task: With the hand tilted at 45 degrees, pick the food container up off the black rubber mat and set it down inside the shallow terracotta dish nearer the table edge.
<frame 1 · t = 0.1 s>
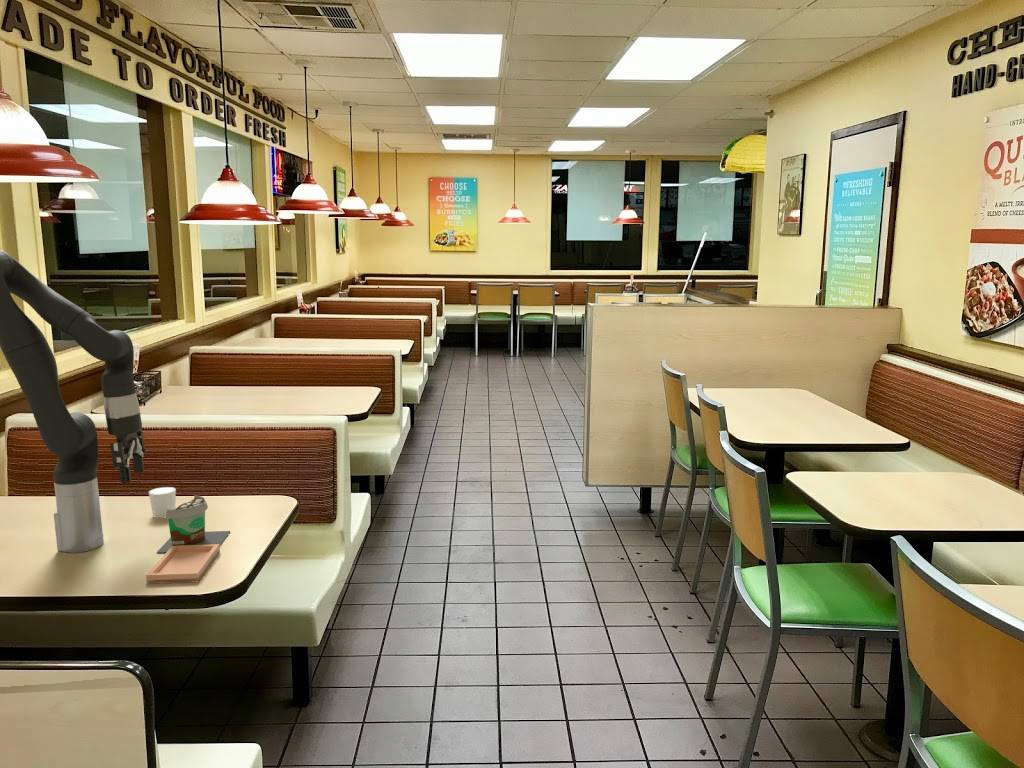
hand: (133, 477, 189), 17 cm above the table, tool pointing down, fingers open, 8 cm apart
dish: (185, 567, 178), on the table
food container: (194, 541, 193), resting on mat
mat: (195, 542, 193), on the table
white cup: (164, 515, 214), on the table
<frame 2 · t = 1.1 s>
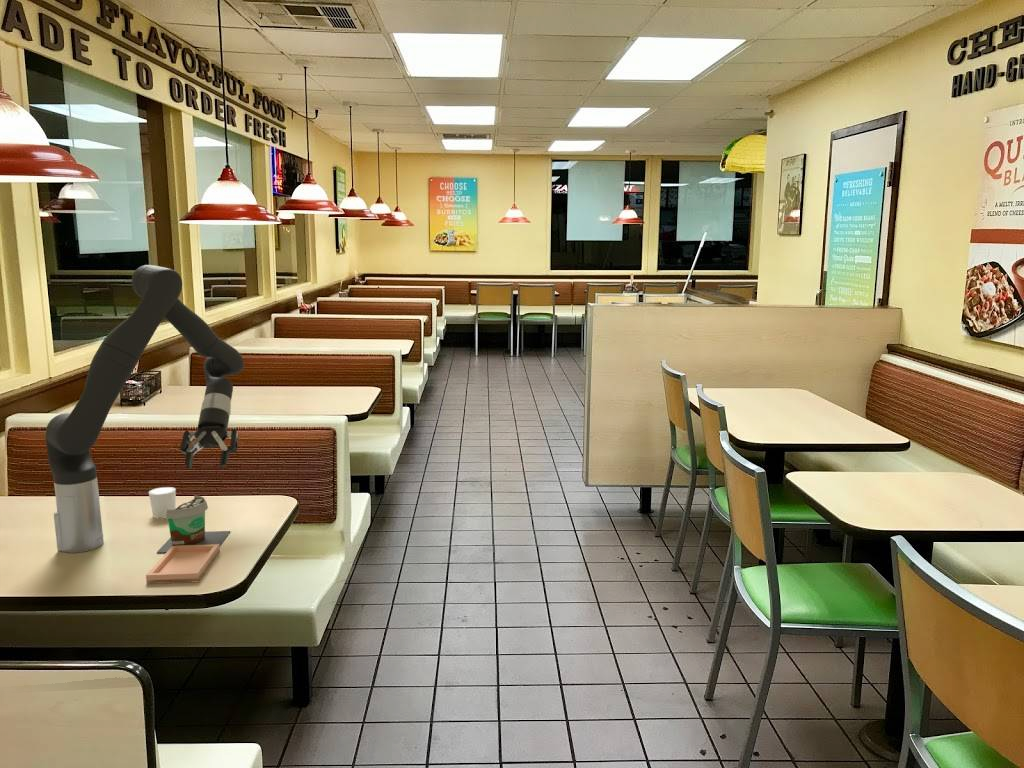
hand: (205, 466, 201), 16 cm above the table, tool tilted 45°, fingers open, 8 cm apart
nothing on the table moved.
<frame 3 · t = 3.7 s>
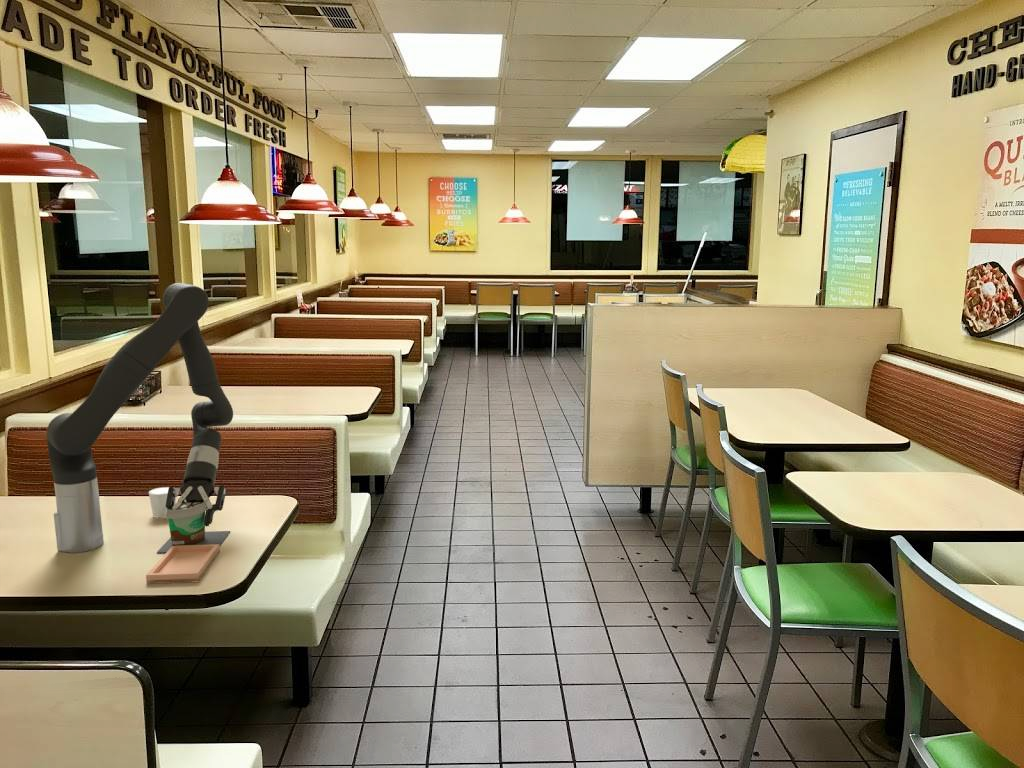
hand: (190, 525, 191), 5 cm above the table, tool tilted 45°, fingers closed on food container, 7 cm apart
food container: (194, 541, 193), resting on mat, touching gripper
everything else where it was.
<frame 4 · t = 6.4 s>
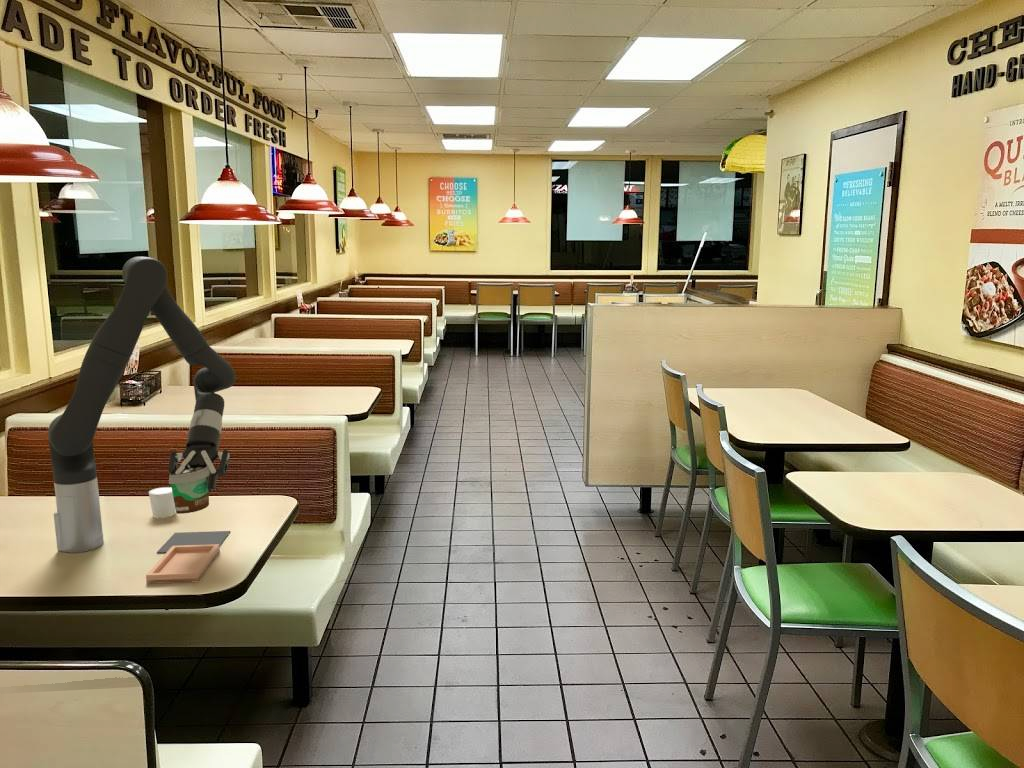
hand: (194, 490, 186), 15 cm above the table, tool tilted 45°, fingers closed on food container, 7 cm apart
food container: (199, 507, 188), point 10 cm above the table, touching gripper
everything else where it was.
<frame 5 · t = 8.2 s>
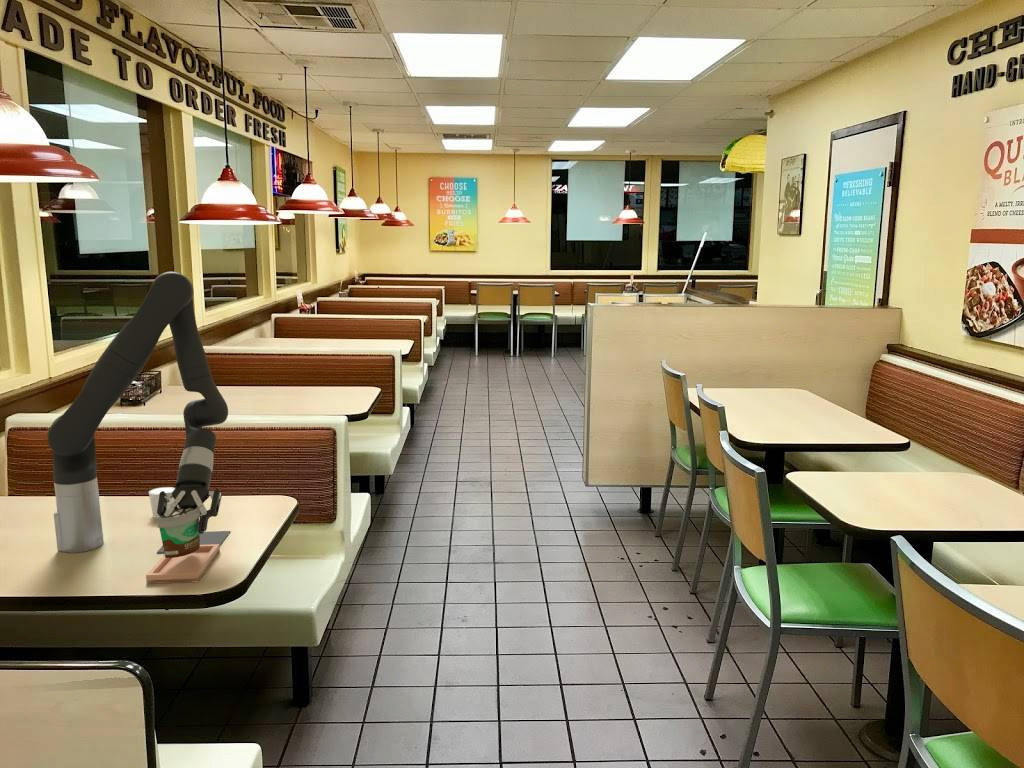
hand: (184, 533, 178), 8 cm above the table, tool tilted 45°, fingers closed on food container, 7 cm apart
food container: (189, 550, 180), point 3 cm above the table, touching gripper
everything else where it was.
when the fingers open (6 cm above the table, at t = 9.5 s): food container stays where it is, resting on dish.
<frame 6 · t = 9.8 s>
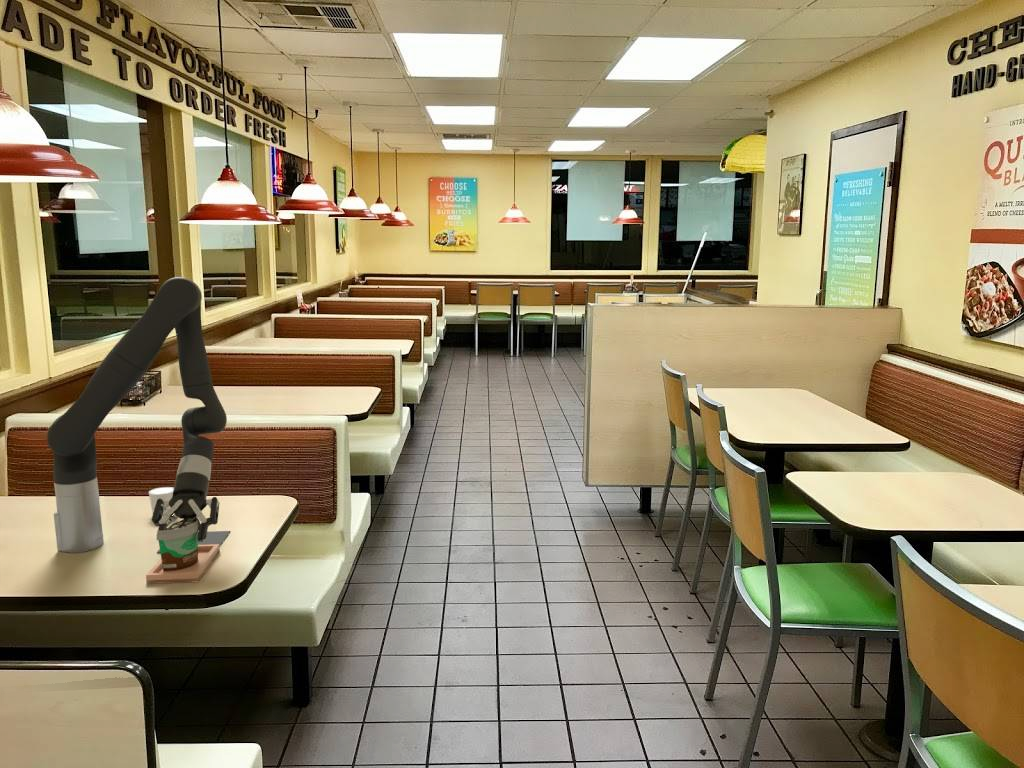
hand: (180, 541, 176), 7 cm above the table, tool tilted 45°, fingers open, 8 cm apart
food container: (187, 564, 178), point 1 cm above the table, touching dish
everything else where it was.
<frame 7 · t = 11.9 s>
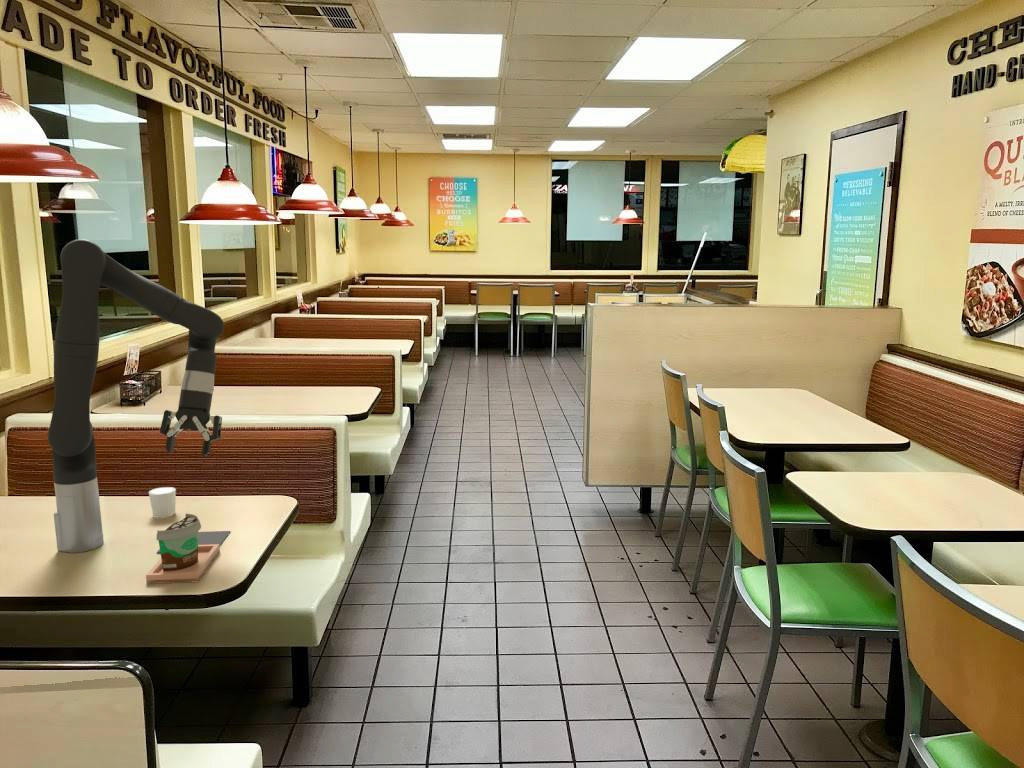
hand: (187, 454, 193), 22 cm above the table, tool tilted 20°, fingers open, 8 cm apart
nothing on the table moved.
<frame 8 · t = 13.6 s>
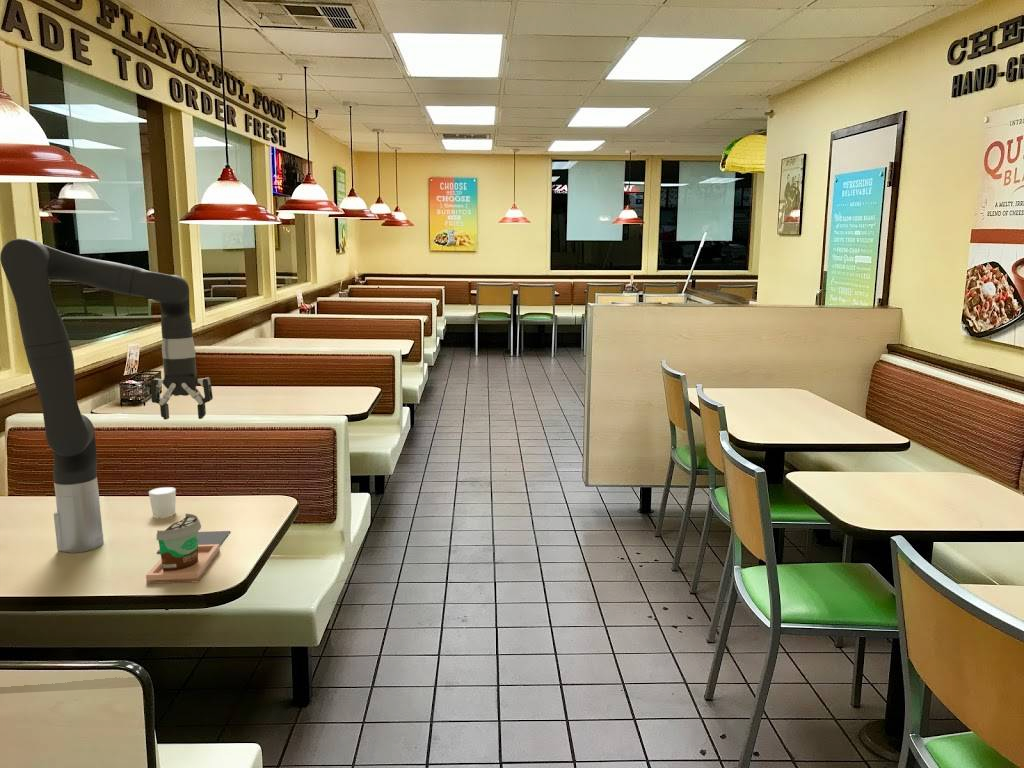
hand: (183, 418, 196), 30 cm above the table, tool pointing down, fingers open, 8 cm apart
nothing on the table moved.
at the end: food container inside the target area on the dish (0.6 cm from its centre), point 0.6 cm above the dish's base; food container tilted 0°; the gripper is holding nothing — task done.
